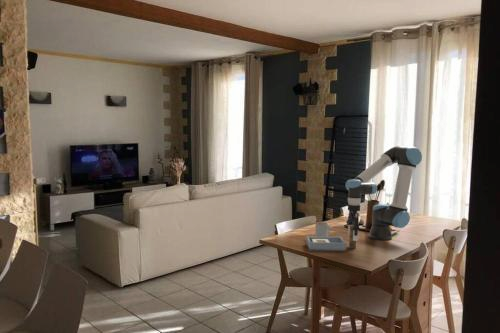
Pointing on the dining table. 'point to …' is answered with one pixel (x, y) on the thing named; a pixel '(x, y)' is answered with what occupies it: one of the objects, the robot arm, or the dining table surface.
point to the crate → (326, 244)
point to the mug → (322, 229)
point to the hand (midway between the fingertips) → (352, 237)
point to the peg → (352, 243)
